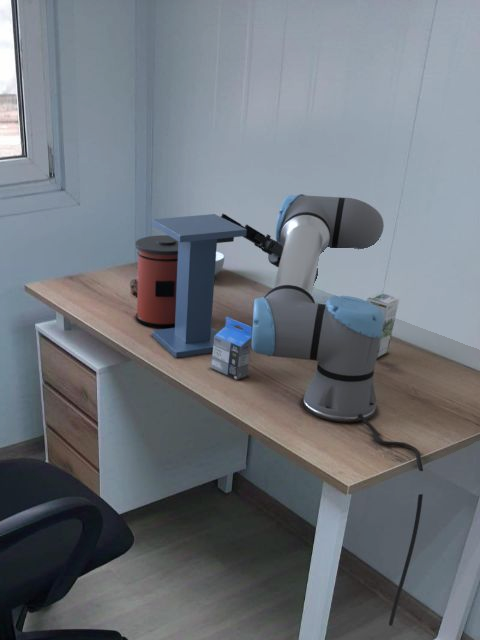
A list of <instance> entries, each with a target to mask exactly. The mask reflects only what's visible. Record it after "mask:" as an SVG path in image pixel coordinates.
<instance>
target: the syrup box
mask: <svg viewBox="0 0 480 640" xmlns="http://www.w3.org/2000/svg"><path fill="white" fill-rule="evenodd" d="M366 301H368V302H370V303H372V304H374V305H375V306H377V307H378V308H379V309H380V310H381V311H382V313H383V317H384V320H383V327H382V332H383V334H382V337H380V342H379V347H378V352H377V358H376V360H377V359H378V358H381V357H382V356H384V355H386V354H388V351H389V347H390V343H391V339H392V334H393V330H394V326H395V321H396V315H397V311H398V308H399V307H398V306H399V302H400V298H398V297H395V296H393V295H390V294H386V293H376V294H374V295H372V296H370V297H367V298H366Z"/></svg>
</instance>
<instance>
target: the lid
mask: <svg viewBox="0 0 480 640" xmlns="http://www.w3.org/2000/svg"><path fill="white" fill-rule="evenodd" d="M234 241H235V237H231V238H221V239H217V244H221V243H230V242H232V243H233V242H234ZM135 249H137V251H138V250H139V251H142V252H145V253H149V254H156V255H178V241H177V240H175V239H173V238H172V237H170V236H169V235H167V234H165V235H164V234H162V235H161V234H160V235H149V236H145V237H141V238H139V239H137V240H136V241H135Z"/></svg>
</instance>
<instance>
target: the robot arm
mask: <svg viewBox="0 0 480 640" xmlns="http://www.w3.org/2000/svg"><path fill="white" fill-rule="evenodd" d="M220 217H222V218H224V219H226V220H228V221H230V222H232V223H234V224H236V225H238V226H240V227H242V228H245V229H247V233H246V236H242V238H244V239H246V240H247V241H249V242H251V243H253V244H254V246H255V247H257V248H259V249H261V251H262V252H264V253H266V254H267V257H268V261H269V263H270V264H271V265H273V266H274V267H276V268H277V271H276V274H275V279H274V283H273V287H272V288H271V289H269V290H268V291H267V292H266V293H265V295H264V296H263V297H261V296H260V297H256V298H255V299H254V301H253V315H252V339H251V349H252V351H253V352H254V353H255V354H258V355H264V356H268V357H276V358H286V359H297V360H308V361H315V362H317V365H316V371H315V372H314V375H313V377H312V379H311V380H310V382H309V384H308V386H307V389H306V390H305V392H304V395H303V399H302V405H303V407H304V409H305V410H306V411H307V412H308V413H310V414H311V415H312V416H315V417H317V418H320V419H322V420H325V421H330V422H336V423H345V424H346V423H349V424H350V423H358V422H363V423H364V424H365V425H366V427H368V429H369V430H371V432H372V433H373V437H374V440H375V442H377V443H378V444H380V445H383V446H384V445H385V446H393V447H403V448H407V449H409V450H410V451H412V452H414V454H415V457H416V464H417V469H418V471H419V472H424V468H423V464H422V463H423V462H422V457H421V453H420V451H419V449H418V448H416V447H415V446H413V445H411V444H409V443H406V442H403V441H387V440H383V439H381V438H379V433H378V430H377V429H376V428H375V427H374V426H373V425H372V423H370V421H368V420H369V419H371V418H372V417H373V416H374V415H375V413H376V409H377V396H376V390H375V384H374V372H375V368H376V364H377V363H376V362H377V359H378V358H377V352H378V347H379V342H380V337H382V334H383V332H382V327H383V320H384V317H383V313H382V311H381V310H380V309H379V308H378V307H377V306H375V305H374V304H372V303H370V302H368V301H367V300H365V299H363V298H359V297H354V296H350V295H349V296H348V295H334V296H331V297H329V298H328V299H327V300H326V302H325V303H316V300H315V298H314V296H313V292H314V291H313V290H314V288H313V286H314V283H315V281H316V279H317V276H318V268H317V266H318V261H319V256H320V254H321V253H322V252H324V250H325V249H326V248H327V247H330V248H354V249H358V250H359V249H364V248H368V247H370V246H372V245H374V244H375V243H376V242H377V241H378V240H379V238H380V237H381V238H382V235H383V232H384V227H385V225H384V219H383V216H382V215H381V213H380V212H379V210H377V209H376V208H375V207H373V206H372V205H370V204H369V203H367V202H365V201H363V200H360V199H357V198H354V197H353V198H352V197H340V196H324V195H323V196H321V195H306V194H303V193H301V194H300V193H299V194H289V195H287V196H286V197H285V198H284V200H283V201H282V203H281V205H280V208H279V213H278V215H277V220H276V226H275V239H273V238H271V235H270V234H268V233H266V235H265V234H263V233H262V232H260V231H258V230H256V229H255V228H253V227H252V226H250V225H249V224H246V223H245V225H242V224H241V223H240V222H238V221H236V220H235V219H233V218H232V217H230V216H229V215H227V214H225V213H222V214H221V215H220ZM376 358H377V359H376ZM417 497H418V498H417V504H416V511H415V518H414V519H415V520H414V523H413V524H414V525H413V529H412V535H411V538H410V543H409V547H408V551H407V556H406V559H405V563H404V566H403V569H402V573H401V577H400V581H399V584H398V587H397V591H396V594H395V598H394V602H393V605H392V610H391V613H390V617H389V620H388V621H389V622H388V626H393V624H394V622H395V621H394V620H395V617H396V612H397V609H398V605H399V601H400V598H401V594H402V590H403V587H404V585H405V581H406V577H407V573H408V569H409V567H410V563H411V559H412V555H413V553H414V552H413V551H414V548H415V544H416V540H417V535H418V530H419V526H420V525H419V524H420V520H421V513H422V505H423V497H424V494H423V493H419V494H418V495H417Z"/></svg>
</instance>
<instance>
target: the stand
mask: <svg viewBox="0 0 480 640" xmlns="http://www.w3.org/2000/svg"><path fill="white" fill-rule="evenodd" d="M151 226H152V227H153V228H155V229H157V230H159V231H160V232H162V233H164V234H165V235H169V236H170V237H172V238H173V239H175V240H177V241H178V265H177V289H176V313H175V328H168V329H161V328H160V329H154V330H152V333H151V335H152V337H153V338H154V339H155V340H156V341H157V342H158V343H159V344H160V345H161V346H162V347H164V348H165V350H167V351H168V352H169V353H170V354H171V355H172V356H174V358H176V359H178V358H185V357H191V356H199V355H205V354H206V355H207V354H213V345H214V336H215V335H216V334H217V333H218V332H219V331H218V330H216V329H215V328H214V327H212V323H213V322H212V320H213V308H214V307H213V305H214V290H215V277H216V274H215V263H216V251H217V246H218V243H217V239H221V238H231V237H234V238H240V237H242V236H246V233H247V229H245V228H242V227H240V226H238V225H236V224H234V223H232V222H230V221H228V220H226V219H224V218H222V217H221V215H218V214H216V213H209V214H199V215H189V216H177V217H176V216H175V217H165V218H154V219H151ZM242 238H243V237H242Z"/></svg>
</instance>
